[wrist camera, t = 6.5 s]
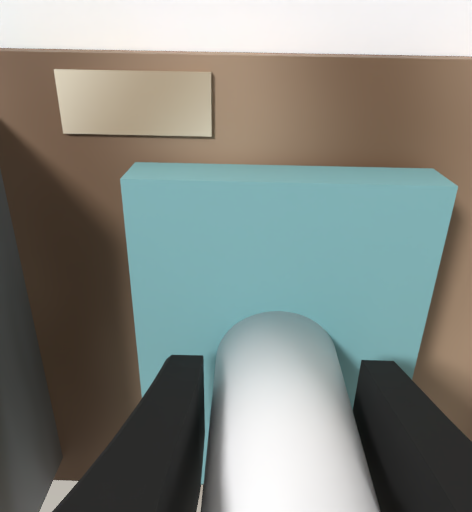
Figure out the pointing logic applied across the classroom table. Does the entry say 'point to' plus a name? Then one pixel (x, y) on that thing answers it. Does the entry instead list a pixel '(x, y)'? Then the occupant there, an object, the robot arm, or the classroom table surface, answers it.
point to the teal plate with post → (282, 311)
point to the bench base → (186, 151)
